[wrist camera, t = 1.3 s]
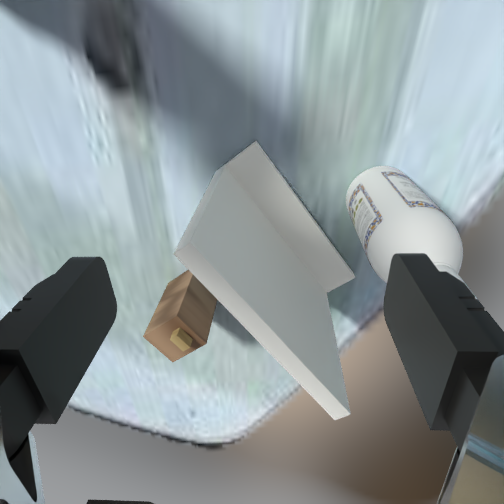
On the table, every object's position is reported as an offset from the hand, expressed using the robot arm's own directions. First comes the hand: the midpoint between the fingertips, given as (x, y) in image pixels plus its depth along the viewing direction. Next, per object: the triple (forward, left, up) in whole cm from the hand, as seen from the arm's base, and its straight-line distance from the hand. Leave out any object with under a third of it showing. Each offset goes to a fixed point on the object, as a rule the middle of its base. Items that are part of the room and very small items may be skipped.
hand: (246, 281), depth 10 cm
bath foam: (+12, -8, -30) cm, 33 cm away
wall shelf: (0, -14, -29) cm, 32 cm away
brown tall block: (-10, -21, -29) cm, 37 cm away
